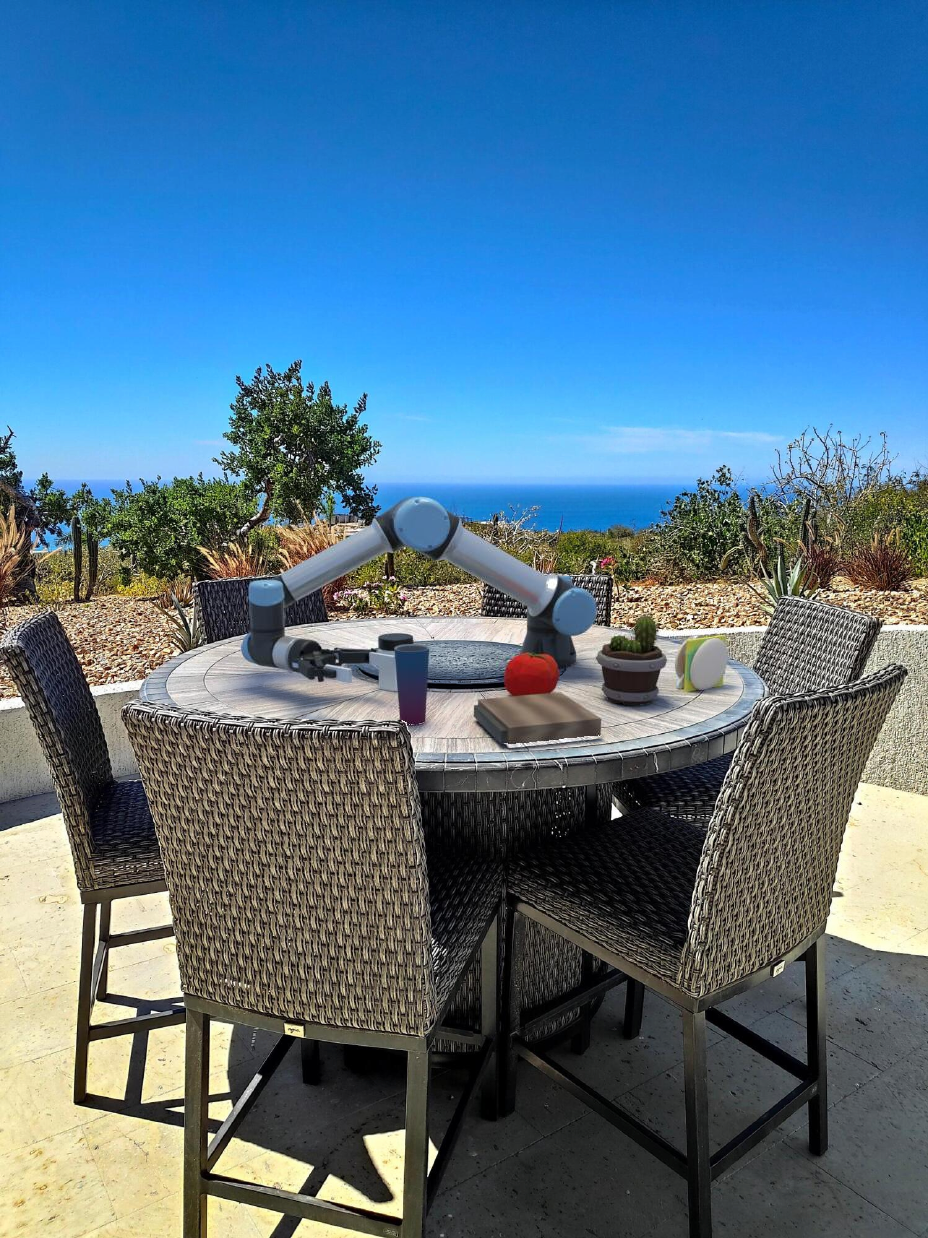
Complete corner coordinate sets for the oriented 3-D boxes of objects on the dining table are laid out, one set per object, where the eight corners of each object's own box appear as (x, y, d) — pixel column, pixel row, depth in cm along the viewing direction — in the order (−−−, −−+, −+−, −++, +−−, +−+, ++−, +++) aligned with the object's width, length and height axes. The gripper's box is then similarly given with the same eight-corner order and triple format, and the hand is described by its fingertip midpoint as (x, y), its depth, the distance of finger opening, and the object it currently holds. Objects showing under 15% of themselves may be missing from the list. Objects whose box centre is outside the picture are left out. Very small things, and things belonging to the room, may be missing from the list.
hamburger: (702, 679, 174) (705, 631, 172) (730, 687, 167) (734, 637, 165) (666, 685, 168) (669, 635, 166) (693, 694, 161) (697, 642, 159)
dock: (560, 710, 149) (560, 692, 148) (600, 739, 132) (601, 718, 131) (472, 719, 144) (472, 699, 143) (502, 749, 127) (503, 728, 126)
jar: (387, 693, 161) (386, 641, 159) (371, 685, 168) (370, 635, 166) (421, 687, 166) (421, 637, 164) (404, 680, 173) (404, 631, 171)
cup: (395, 716, 145) (394, 644, 142) (429, 715, 146) (428, 643, 143) (395, 727, 138) (394, 651, 136) (430, 726, 139) (429, 651, 136)
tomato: (495, 693, 162) (495, 649, 160) (545, 688, 166) (546, 645, 164) (515, 707, 151) (516, 660, 150) (568, 701, 156) (570, 655, 154)
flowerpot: (615, 712, 148) (619, 617, 144) (584, 692, 162) (587, 605, 159) (678, 707, 152) (683, 614, 148) (641, 688, 166) (645, 603, 163)
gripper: (338, 661, 168) (410, 674, 157) (255, 684, 147) (330, 701, 136) (337, 629, 167) (410, 640, 155) (253, 648, 146) (329, 663, 135)
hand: (373, 669), depth 146 cm, fingers open, 13 cm apart
